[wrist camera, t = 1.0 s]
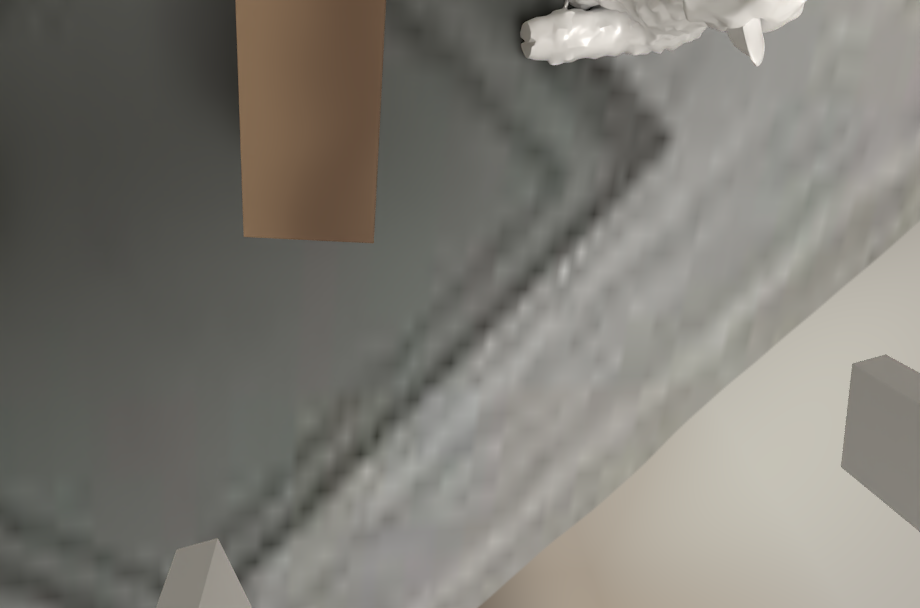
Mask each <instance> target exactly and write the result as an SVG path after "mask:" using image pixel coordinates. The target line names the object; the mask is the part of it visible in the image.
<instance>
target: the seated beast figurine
mask: <svg viewBox="0 0 920 608" xmlns="http://www.w3.org/2000/svg"><path fill="white" fill-rule="evenodd" d="M806 1H807V0H565V3H564V7H563V8H562V9H559V10H555V11H552V13H551V14H549V15H547V16H541V17H535V18H533V19H531V20H528V21H526V22H524V23H523V25H522V27H521V32H520V37H521V38H522V39H523V40H524V41H525V42H523V43H521V48H522V51H523V53H524V55H525V57H526V58H529V59H532V60H547V61H548V62H549V64H551V65H559V64H562V63H564V62H565V63H571V62H573V61H575V60H577V59H581V58H591V59H597V58H599V57H603V56H607V55H609V56H615V57H617V56H619V55H620V54H622V53H626V54H633V55H635V56H636V55H638V54H648V53H650V52H651V51H652V52H655V53H659V54H660V53H661V52H662V51H663V50H664V49H667V50H670V51H673V50H674V49H676V48H677V47H679V46H681V45H682V44H683V43H687V42H691V41H692V40H694V39H697V38H700V36H701V34H702V32H703V31H704V30H705V29H706V28H707V27H709V28H713V29H716V30H718V31H722V32H727V33H728V36H729V38H730V39H731V41H732V43H733V44H734V46H735V47H737V48H738V49H739V50H740V51H741V52H743V53H745V54H746V55H748V56H750V58H751V60H752V62H753V63H754V65H755V66H757V67H758V66H759V65H760V64H761V62H762V59H763V56H764V53H765V42H764V37H763V33H765V32H770V31H774V30H776V29H778V28H781V27H782V26H783V25H785V24H786V23H787V22H789V21H792V20H794V19H796V18H797V17H798V16H799V15H801V14H802V11H803V7H804V3H805V2H806ZM568 3H569V4H570V5H572V6H574V7H575V8H574V9H570V10H568V9H567V7H568ZM592 6H594V7H593V8H592V9H591V10H589V11H585V10H587V9H589V8H590V7H592ZM576 8H579V9H576ZM583 9H584V10H583Z"/></svg>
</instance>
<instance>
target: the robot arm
mask: <svg viewBox="0 0 920 608" xmlns="http://www.w3.org/2000/svg"><path fill="white" fill-rule="evenodd" d="M841 467H842V468H843V469H844V470H846V471H847V472H848V473H849V474H850V475H852V476H853V477H854V478H855V479H856V480H858V481H859V482H860V483H861V484H862V485H864V486H865V487H866V488H867V489H868V490H870V491H871V492H872V493H873V494H875V495H876V496H877V497H878V498H879V499H881V500H882V501H883V502H884V503H885V504H887V505H888V506H889V507H890V508H892V509H893V510H894V511H895V512H896V513H898V514H899V515H900V516H901V517H902V518H904V519H905V520H906V521H907V522H909V523H910V524H911V525H912V526H913V527H915V528H916V529H917V530H918V531H919V532H920V373H918V372H917V371H915V370H913V369H911V368H910V367H908V366H906V365H904V364H902V363H900V362H899V361H897V360H895V359H893V358H891V357H889V356H888V355H882V356H879V357H875V358H871V359H868V360H864V361H860V362H857V363H853V364H852V372H851V381H850V390H849V399H848V409H847V417H846V426H845V435H844V444H843V453H842V462H841ZM156 608H252V607H251V605H250V602H249V600H248V598H247V596H246V594H245V592H244V590H243V588H242V586H241V584H240V582H239V580H238V578H237V576H236V574H235V572H234V570H233V568H232V566H231V564H230V562H229V560H228V558H227V556H226V554H225V552H224V550H223V548H222V546H221V544H220V542H219V540H218V538H216V539H213V540H209V541H206V542H202V543H198V544H195V545H191V546H187V547H184V548H180V549H177V550H176V552H175V555H174V558H173V561H172V564H171V567H170V570H169V572H168V575H167V578H166V581H165V584H164V587H163V589H162V592H161V595H160V598H159V601H158V604H157V606H156Z"/></svg>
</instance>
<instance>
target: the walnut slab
mask: <svg viewBox="0 0 920 608" xmlns="http://www.w3.org/2000/svg"><path fill="white" fill-rule="evenodd" d="M235 1H236V30H237V58H238V87H239V116H240V145H241V173H242V202H243V231H244V237H258V238H278V239H298V240H319V241H339V242H359V243H374V226H375V207H376V187H377V167H378V148H379V128H380V108H381V89H382V69H383V49H384V29H385V10H386V0H235Z"/></svg>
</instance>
